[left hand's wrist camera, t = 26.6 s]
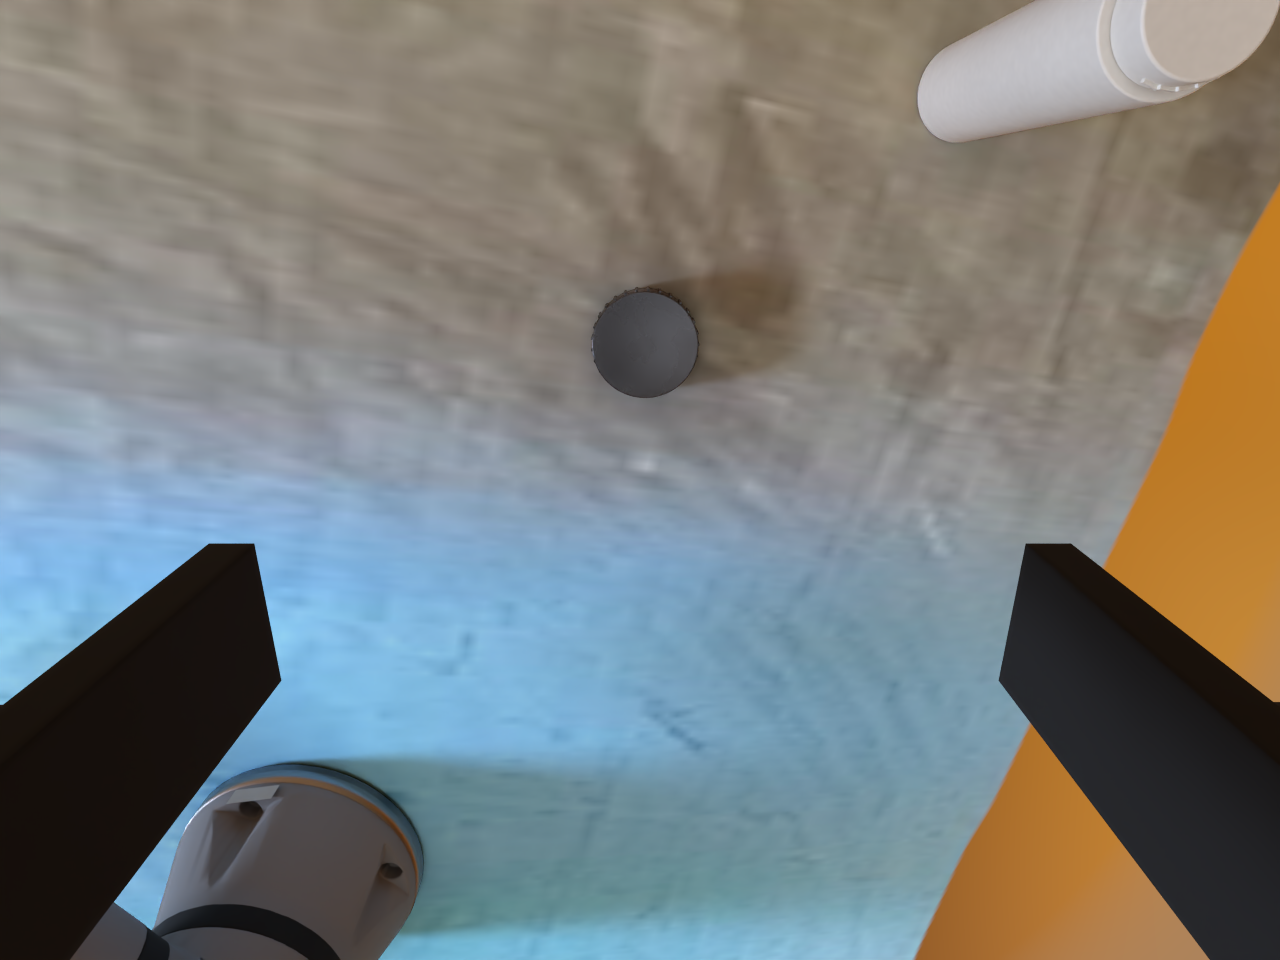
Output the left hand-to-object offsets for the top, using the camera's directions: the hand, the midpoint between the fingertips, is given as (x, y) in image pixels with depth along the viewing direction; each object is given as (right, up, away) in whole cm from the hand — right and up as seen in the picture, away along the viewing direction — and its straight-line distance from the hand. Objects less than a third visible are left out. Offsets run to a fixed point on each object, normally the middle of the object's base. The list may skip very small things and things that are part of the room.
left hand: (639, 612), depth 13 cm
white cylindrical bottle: (+15, +20, +21) cm, 33 cm away
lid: (0, +9, +24) cm, 25 cm away
